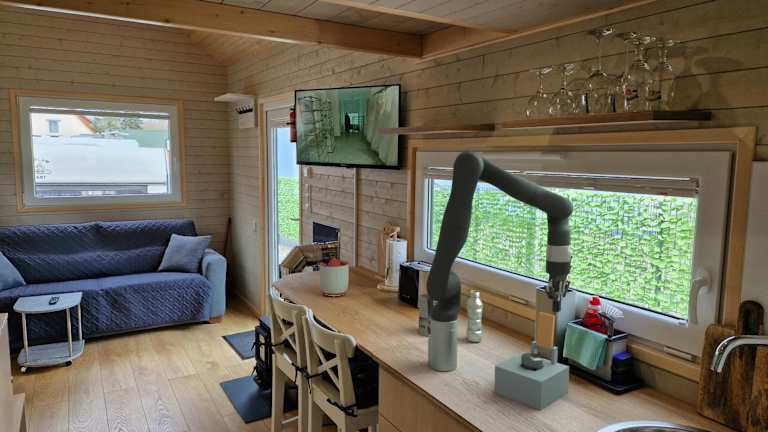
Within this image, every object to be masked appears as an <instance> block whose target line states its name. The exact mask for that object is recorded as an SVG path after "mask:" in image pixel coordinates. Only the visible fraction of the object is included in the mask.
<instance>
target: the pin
mask: <svg viewBox="0 0 768 432" xmlns="http://www.w3.org/2000/svg"><path fill="white" fill-rule="evenodd" d="M543 359H544V357H543V355H540V354H539V353H537V354H535V353H531V352H524V354H522V355H521V366H522V367H523V368H525V369H528V370H533V371H537V370H540V369H542V368H543Z"/></svg>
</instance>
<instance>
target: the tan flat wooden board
mask: <svg viewBox="0 0 768 432" xmlns="http://www.w3.org/2000/svg"><path fill="white" fill-rule="evenodd" d="M555 321H556V315H554V314H550V313H546V312H541V311H540V312H538V321H537V322H538V323H537V335H536V336H537V337H536V341H537V345H536V349H537V350H540V351H543V352H546V353H549V354H551V348H553V347H554V333H555Z"/></svg>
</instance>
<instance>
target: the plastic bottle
mask: <svg viewBox="0 0 768 432" xmlns="http://www.w3.org/2000/svg"><path fill="white" fill-rule="evenodd" d="M469 293H470V294H469V296H470V297H469V299H468V300H467V301H466V313H467V325H466V326H467V327H466V331H465V332H466V333H465V336H466V339H467V341H469V342H471V343H479V342H481V341H482V340H483V327H482V316H483V307H484V303H483V301H482V299H481V298H480V296H481V294H480V293H481V292H480V291H479V290H476V289H475V290H472V289H471V290H470V291H469Z"/></svg>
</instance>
